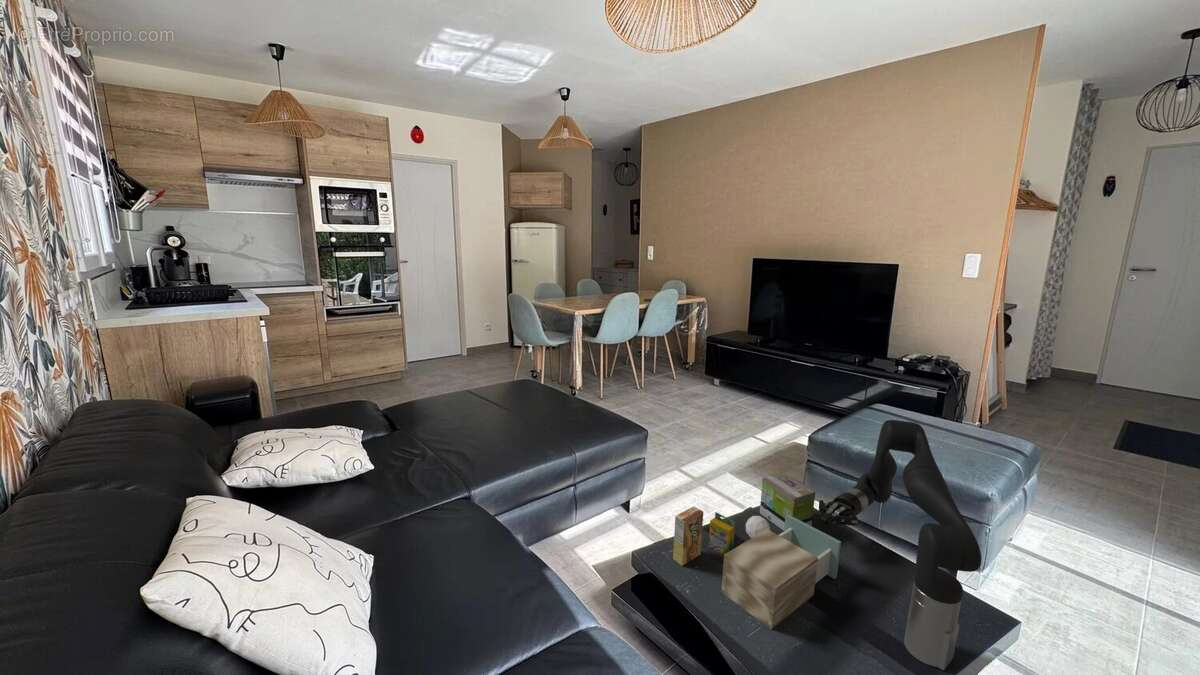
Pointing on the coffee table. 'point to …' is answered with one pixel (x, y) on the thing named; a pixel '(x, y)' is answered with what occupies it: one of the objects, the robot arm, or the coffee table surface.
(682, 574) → the coffee table surface
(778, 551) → the birch box
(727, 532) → the crayon box
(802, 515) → the tea box
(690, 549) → the candy box
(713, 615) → the coffee table surface
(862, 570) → the coffee table surface
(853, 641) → the coffee table surface
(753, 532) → the ball
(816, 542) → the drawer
